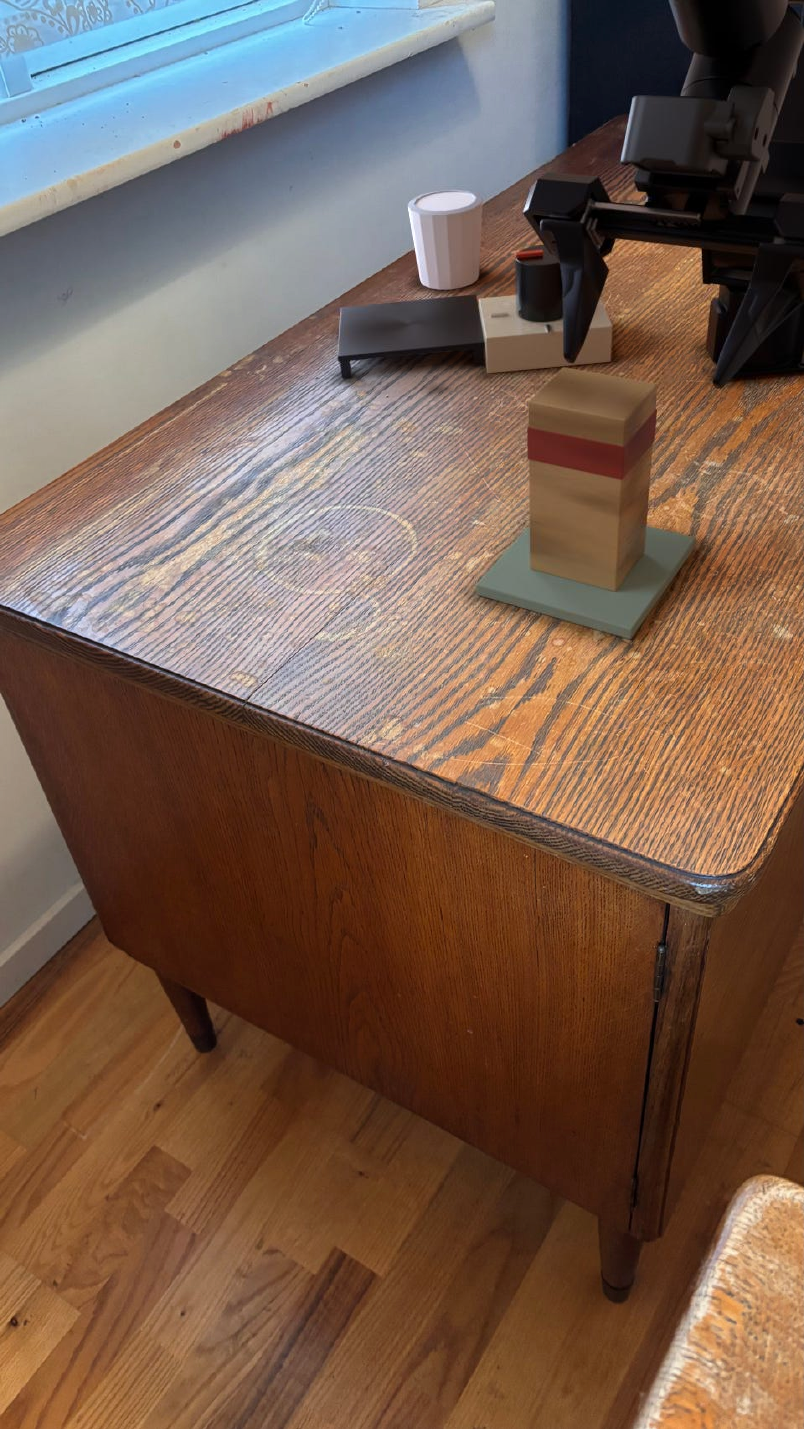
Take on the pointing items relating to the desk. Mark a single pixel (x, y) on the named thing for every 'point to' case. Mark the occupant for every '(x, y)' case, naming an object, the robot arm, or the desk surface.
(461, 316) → the black low stand
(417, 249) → the white cup
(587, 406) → the block
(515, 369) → the panel
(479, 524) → the desk surface
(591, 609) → the mat
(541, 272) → the oven knob
